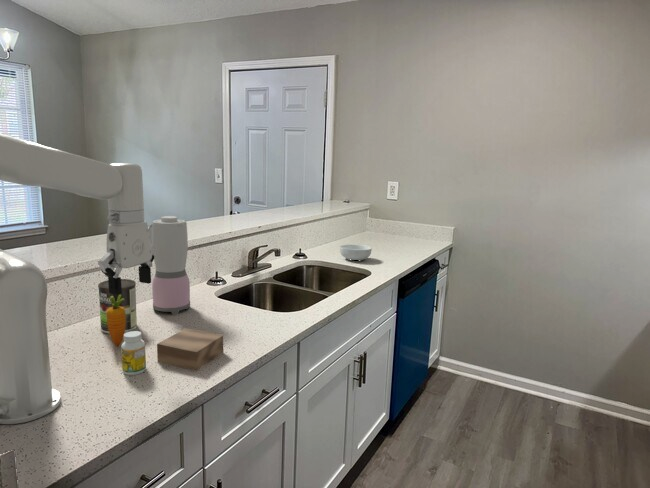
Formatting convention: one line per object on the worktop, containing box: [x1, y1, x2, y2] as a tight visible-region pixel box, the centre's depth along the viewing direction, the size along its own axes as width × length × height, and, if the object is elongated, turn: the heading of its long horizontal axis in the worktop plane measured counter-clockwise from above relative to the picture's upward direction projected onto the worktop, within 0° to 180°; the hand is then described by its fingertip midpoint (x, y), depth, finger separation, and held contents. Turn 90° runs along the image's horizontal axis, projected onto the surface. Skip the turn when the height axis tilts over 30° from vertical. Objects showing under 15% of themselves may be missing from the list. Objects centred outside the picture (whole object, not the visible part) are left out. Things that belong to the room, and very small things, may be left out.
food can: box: [97, 278, 138, 335], centre depth 137 cm, size 10×10×14 cm
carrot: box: [106, 295, 126, 348], centre depth 123 cm, size 5×5×15 cm
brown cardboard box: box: [156, 327, 224, 372], centre depth 120 cm, size 12×12×5 cm
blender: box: [148, 215, 191, 316], centre depth 154 cm, size 16×12×32 cm
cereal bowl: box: [339, 243, 372, 261], centre depth 243 cm, size 17×17×7 cm
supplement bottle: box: [120, 330, 147, 376], centre depth 111 cm, size 5×5×10 cm
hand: (130, 287), depth 108 cm, fingers open, 9 cm apart
